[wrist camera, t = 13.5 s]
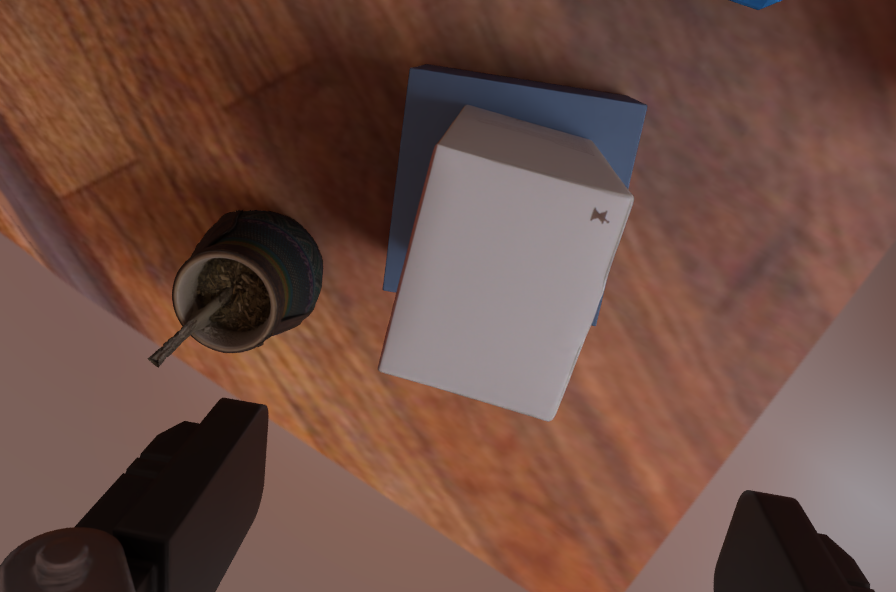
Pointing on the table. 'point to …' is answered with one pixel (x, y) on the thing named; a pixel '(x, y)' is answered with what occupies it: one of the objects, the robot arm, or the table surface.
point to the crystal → (756, 3)
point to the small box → (505, 262)
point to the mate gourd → (245, 283)
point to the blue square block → (549, 105)
